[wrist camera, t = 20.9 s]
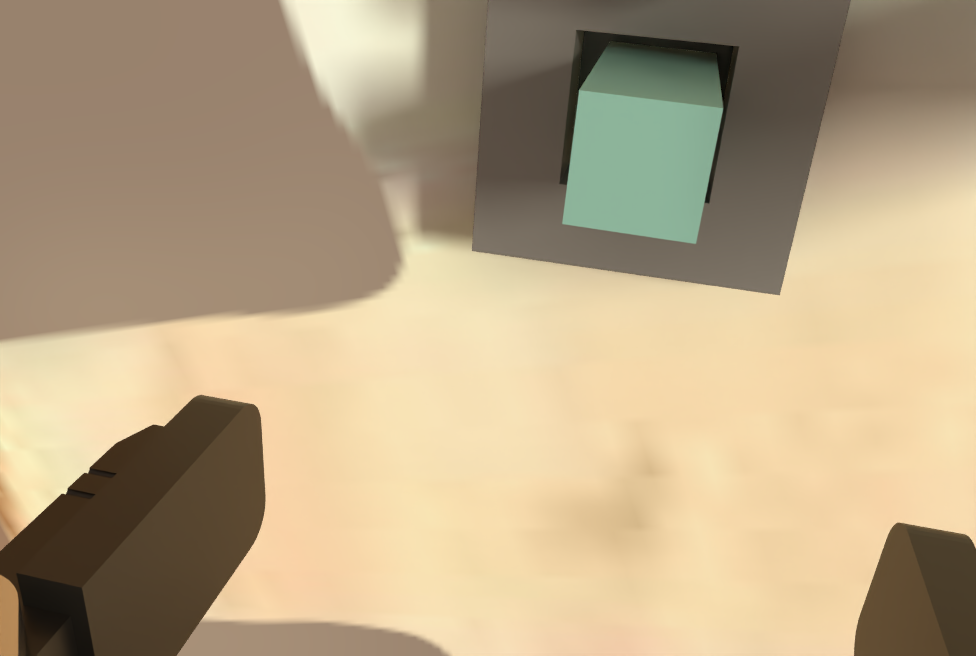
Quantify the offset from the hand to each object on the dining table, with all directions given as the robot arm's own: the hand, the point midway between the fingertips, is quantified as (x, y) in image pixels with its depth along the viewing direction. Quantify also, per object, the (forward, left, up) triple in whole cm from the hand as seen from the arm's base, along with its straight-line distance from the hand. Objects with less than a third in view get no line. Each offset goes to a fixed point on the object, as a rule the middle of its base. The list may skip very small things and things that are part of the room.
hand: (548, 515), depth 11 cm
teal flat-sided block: (0, 0, -26) cm, 26 cm away
